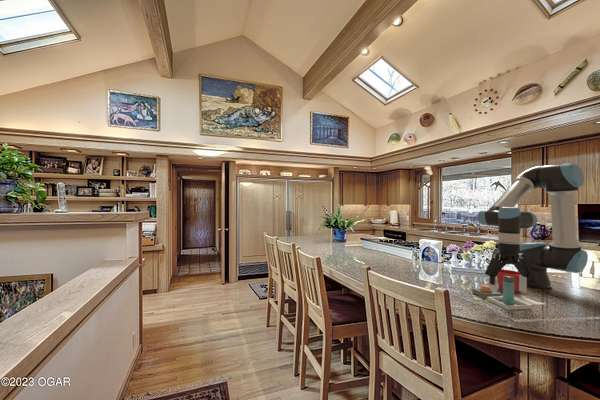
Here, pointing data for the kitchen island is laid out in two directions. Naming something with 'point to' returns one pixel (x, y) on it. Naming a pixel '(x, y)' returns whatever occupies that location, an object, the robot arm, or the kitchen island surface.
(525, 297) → the clipboard
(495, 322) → the kitchen island surface
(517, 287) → the flower pot
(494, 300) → the tray
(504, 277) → the tall green block
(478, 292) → the button box
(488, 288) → the button
